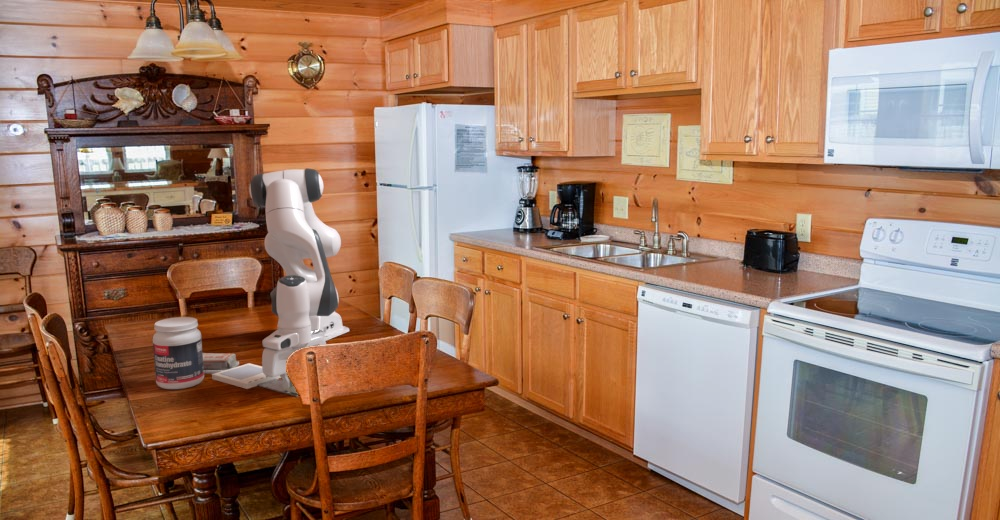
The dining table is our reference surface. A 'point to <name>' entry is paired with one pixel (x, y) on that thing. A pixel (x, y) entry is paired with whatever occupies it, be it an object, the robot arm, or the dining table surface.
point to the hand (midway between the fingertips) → (297, 384)
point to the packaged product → (218, 362)
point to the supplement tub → (178, 353)
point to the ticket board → (251, 378)
